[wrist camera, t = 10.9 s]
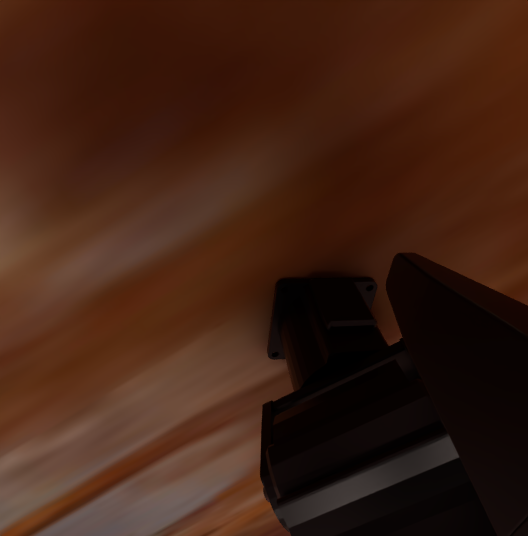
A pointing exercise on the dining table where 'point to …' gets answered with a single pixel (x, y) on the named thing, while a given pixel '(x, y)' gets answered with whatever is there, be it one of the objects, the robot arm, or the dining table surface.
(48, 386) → the dining table surface
